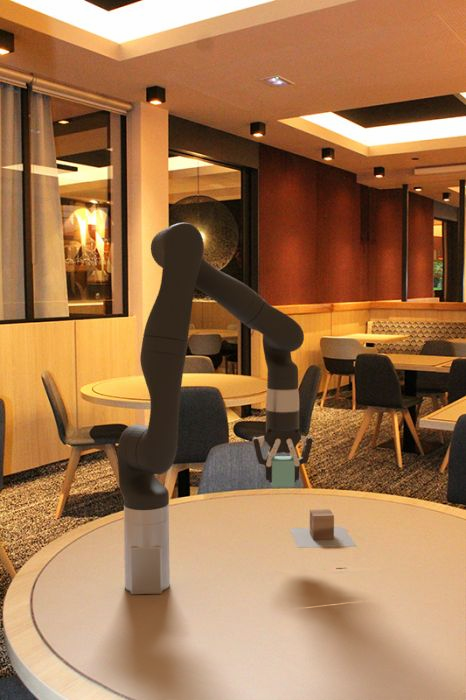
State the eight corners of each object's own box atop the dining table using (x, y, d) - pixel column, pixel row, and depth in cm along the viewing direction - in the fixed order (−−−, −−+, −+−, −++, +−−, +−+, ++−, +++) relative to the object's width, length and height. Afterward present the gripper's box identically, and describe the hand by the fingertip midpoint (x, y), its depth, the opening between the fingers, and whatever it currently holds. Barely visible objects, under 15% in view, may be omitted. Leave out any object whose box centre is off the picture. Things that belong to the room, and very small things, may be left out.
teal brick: (294, 487, 160) (294, 460, 160) (272, 487, 160) (272, 461, 160) (291, 481, 165) (291, 456, 165) (269, 481, 165) (269, 456, 164)
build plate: (356, 549, 167) (356, 545, 167) (297, 550, 166) (297, 547, 166) (343, 529, 181) (343, 526, 181) (288, 531, 180) (288, 528, 180)
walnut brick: (333, 539, 171) (334, 515, 171) (313, 540, 171) (313, 515, 170) (329, 532, 176) (329, 509, 176) (309, 533, 176) (309, 509, 175)
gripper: (252, 410, 157) (252, 486, 158) (316, 410, 158) (316, 485, 159) (249, 405, 165) (249, 478, 166) (311, 405, 165) (310, 477, 167)
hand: (282, 481), depth 162 cm, fingers closed on teal brick, 5 cm apart
